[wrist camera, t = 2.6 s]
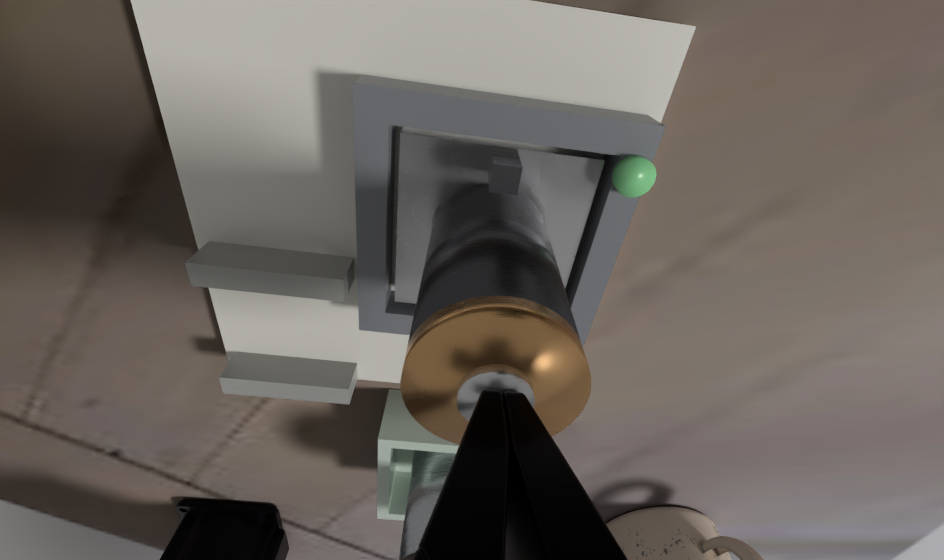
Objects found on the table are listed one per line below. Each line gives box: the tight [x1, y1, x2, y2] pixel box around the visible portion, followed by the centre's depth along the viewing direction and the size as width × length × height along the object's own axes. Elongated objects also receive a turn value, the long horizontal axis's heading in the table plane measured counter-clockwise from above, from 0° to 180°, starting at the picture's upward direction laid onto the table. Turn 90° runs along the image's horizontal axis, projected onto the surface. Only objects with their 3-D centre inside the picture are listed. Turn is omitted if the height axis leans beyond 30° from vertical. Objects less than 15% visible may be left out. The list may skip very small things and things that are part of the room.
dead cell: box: [399, 450, 456, 560], centre depth 20 cm, size 4×4×7 cm
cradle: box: [395, 127, 605, 304], centre depth 14 cm, size 6×6×3 cm
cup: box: [377, 389, 459, 521], centre depth 23 cm, size 7×7×3 cm
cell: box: [400, 184, 591, 445], centre depth 11 cm, size 4×4×7 cm
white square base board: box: [131, 0, 696, 404], centre depth 15 cm, size 16×16×3 cm
